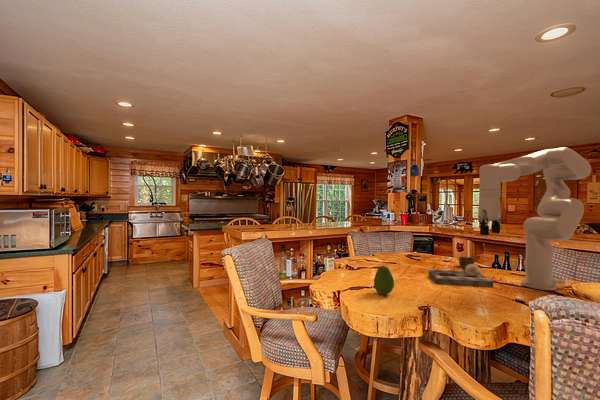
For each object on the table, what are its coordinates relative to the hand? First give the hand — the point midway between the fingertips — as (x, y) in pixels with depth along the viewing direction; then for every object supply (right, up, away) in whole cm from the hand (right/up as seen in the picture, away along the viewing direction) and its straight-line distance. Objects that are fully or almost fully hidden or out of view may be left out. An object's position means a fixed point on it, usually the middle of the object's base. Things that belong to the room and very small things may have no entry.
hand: (490, 234), depth 123 cm
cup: (+8, -25, +32) cm, 42 cm away
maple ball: (+2, -19, +15) cm, 25 cm away
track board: (-4, -25, +16) cm, 30 cm away
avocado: (-46, -25, -4) cm, 53 cm away
